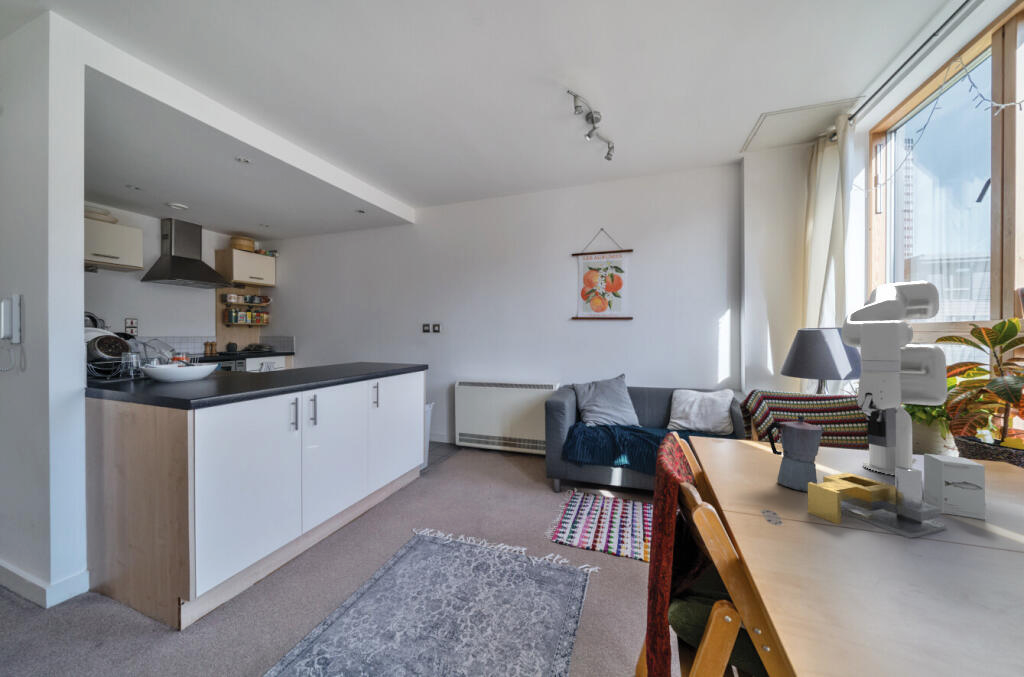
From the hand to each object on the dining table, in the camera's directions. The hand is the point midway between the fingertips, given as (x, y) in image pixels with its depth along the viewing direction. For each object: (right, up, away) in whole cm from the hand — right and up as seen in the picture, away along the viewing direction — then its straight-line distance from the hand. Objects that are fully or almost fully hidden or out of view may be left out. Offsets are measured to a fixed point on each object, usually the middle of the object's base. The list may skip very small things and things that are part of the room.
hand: (881, 434), depth 97 cm
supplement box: (+7, -16, -10) cm, 20 cm away
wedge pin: (0, -3, 0) cm, 3 cm away
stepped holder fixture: (-17, -16, -14) cm, 27 cm away
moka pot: (-19, -16, +5) cm, 26 cm away
